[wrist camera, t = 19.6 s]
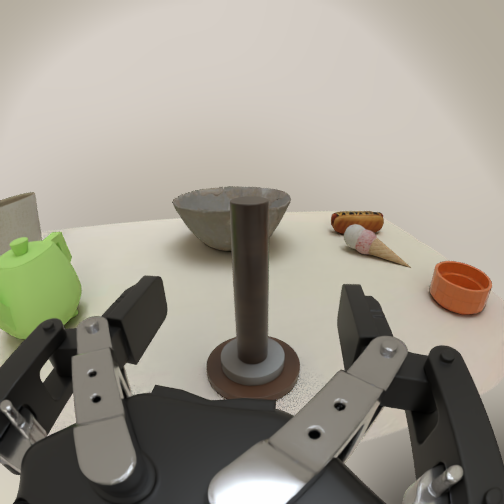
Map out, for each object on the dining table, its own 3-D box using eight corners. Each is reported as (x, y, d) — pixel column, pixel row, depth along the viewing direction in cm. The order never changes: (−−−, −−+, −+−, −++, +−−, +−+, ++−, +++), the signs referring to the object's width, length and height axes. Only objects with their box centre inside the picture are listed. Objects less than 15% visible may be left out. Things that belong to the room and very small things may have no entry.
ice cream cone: (406, 279, 49) (343, 243, 57) (417, 257, 48) (354, 223, 56) (404, 278, 45) (336, 239, 53) (416, 254, 44) (348, 217, 52)
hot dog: (326, 229, 66) (328, 209, 64) (375, 228, 67) (377, 208, 65) (334, 236, 62) (335, 214, 60) (385, 235, 63) (387, 214, 61)
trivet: (317, 380, 25) (318, 373, 25) (231, 418, 21) (230, 412, 21) (269, 332, 32) (269, 325, 32) (195, 356, 29) (194, 349, 28)
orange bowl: (490, 301, 34) (498, 278, 32) (470, 325, 29) (480, 299, 28) (445, 278, 42) (450, 256, 40) (417, 296, 38) (423, 270, 36)
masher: (285, 345, 29) (291, 192, 23) (282, 388, 23) (291, 211, 17) (228, 341, 30) (218, 192, 24) (215, 382, 24) (195, 210, 18)
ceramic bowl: (263, 279, 45) (262, 216, 41) (154, 255, 54) (147, 205, 50) (304, 235, 63) (306, 190, 59) (215, 223, 72) (213, 184, 68)
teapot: (44, 381, 22) (-4, 278, 18) (-18, 358, 23) (-56, 273, 18) (108, 291, 41) (92, 213, 36) (48, 288, 41) (30, 219, 36)
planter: (-22, 280, 42) (-39, 217, 36) (20, 252, 58) (8, 196, 52) (15, 286, 41) (-6, 210, 35) (60, 252, 56) (48, 188, 51)
